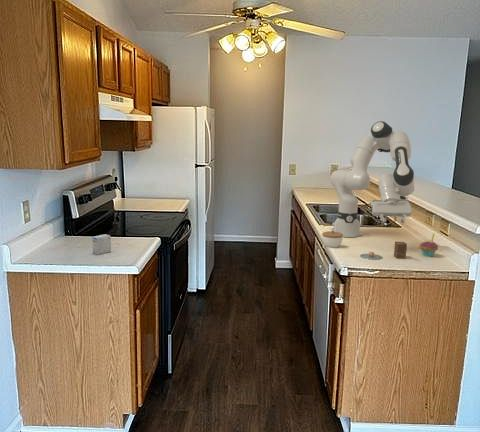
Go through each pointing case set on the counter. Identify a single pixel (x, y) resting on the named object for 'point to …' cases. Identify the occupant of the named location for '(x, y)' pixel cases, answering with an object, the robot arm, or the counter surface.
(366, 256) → the slate saucer
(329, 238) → the lidded jar
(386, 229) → the counter surface
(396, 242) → the brown rectangular block
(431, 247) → the cupcake
